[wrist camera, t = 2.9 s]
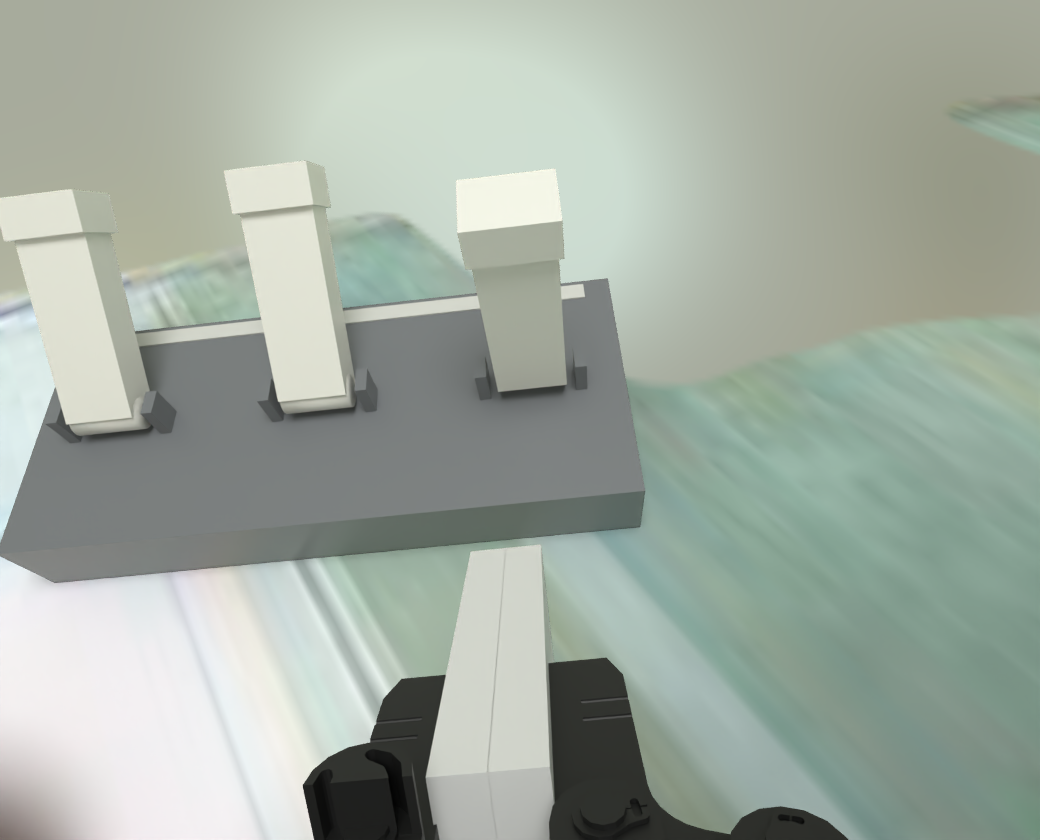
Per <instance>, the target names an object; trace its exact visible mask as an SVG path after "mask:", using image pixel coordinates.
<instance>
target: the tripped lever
mask: <svg viewBox="0 0 1040 840" xmlns="http://www.w3.org/2000/svg"><path fill="white" fill-rule="evenodd" d="M456 194H457V195H456V196H457V197H456V198H457V234H458V238H459V242H460V247H461V252H462V256H463V260H464V265H465V269H466V270H471V269H472V272H473V277H474V282H475V286H476V291H477V296H478V300H479V305H480V310H481V314H482V319H483V323H484V328H485V333H486V337H487V342H488V347H489V351H490V356H491V361H492V365H493V370H494V375H495V379H496V384H497V389H498V392H502V391H512V390H521V389H531V388H540V387H550V386H559V385H567V379H566V363H565V347H564V331H563V315H562V299H561V283H560V269H559V268H560V267H559V259H564V242H563V241H564V240H563V223H562V214H561V207H560V199H559V192H558V185H557V178H556V170H555V169H546V170H538V171H530V172H522V173H514V174H505V175H496V176H488V177H480V178H472V179H463V180H456Z"/></svg>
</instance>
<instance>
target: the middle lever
mask: <svg viewBox="0 0 1040 840" xmlns="http://www.w3.org/2000/svg"><path fill="white" fill-rule="evenodd" d="M224 174H225V180H226V185H227V189H228V194H229V199H230V204H231V208H232V213H233V214H238V215H240V216H241V221H242V226H243V231H244V236H245V241H246V246H247V251H248V256H249V261H250V266H251V271H252V276H253V281H254V286H255V291H256V295H257V300H258V305H259V310H260V315H261V320H262V325H263V330H264V335H265V340H266V345H267V350H268V355H269V360H270V365H271V369H272V374H273V379H274V384H275V389H276V394H277V399H278V402H280V405H281V408H282V410H283V412H284V413H286V414H292V413H301V412H311V411H320V410H330V409H339V408H349V407H354V406H355V403H356V393H355V391H354V390H355V377H354V371H353V365H352V360H351V354H350V348H349V342H348V337H347V331H346V325H345V319H344V313H343V308H342V302H341V296H340V290H339V285H338V279H337V273H336V267H335V261H334V256H333V250H332V244H331V238H330V233H329V227H328V221H327V215H326V209H325V208H330V207H331V204H330V199H329V193H328V186H327V181H326V175H325V169H324V167H322V166H320V165H317V164H314V163H311V162H308V161H298V162H290V163H282V164H273V165H265V166H257V167H249V168H241V169H233V170H224Z"/></svg>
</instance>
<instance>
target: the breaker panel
mask: <svg viewBox="0 0 1040 840" xmlns="http://www.w3.org/2000/svg"><path fill="white" fill-rule="evenodd" d="M561 299H562V315H563V331H564V347H565V363H566V379H567V385H559V386H550V387H540V388H531V389H521V390H512V391H502V392H498V389H497V384H496V379H495V375H494V370H493V365H492V361H491V356H490V351H489V347H488V342H487V337H486V333H485V328H484V323H483V319H482V314H481V310H480V305H479V300H478V296H477V293H474V294H465V295H456V296H447V297H438V298H429V299H420V300H411V301H402V302H393V303H385V304H376V305H367V306H358V307H349V308H343V313H344V319H345V325H346V331H347V337H348V342H349V348H350V354H351V360H352V365H353V371H354V377H355V390H354V391H355V393H356V403H355V406H354V407H349V408H339V409H330V410H320V411H311V412H301V413H292V414H286V413H284V412H283V410H282V408H281V405H280V402H278V399H277V394H276V389H275V384H274V379H273V374H272V369H271V365H270V360H269V355H268V350H267V345H266V340H265V335H264V330H263V325H262V320H261V317H260V318H251V319H242V320H233V321H224V322H215V323H206V324H197V325H188V326H180V327H171V328H162V329H153V330H144V331H135V334H136V338H137V342H138V346H139V350H140V354H141V358H142V362H143V366H144V370H145V374H146V378H147V382H148V386H149V390H150V391H148V392H146V393H145V397H144V401H143V404H142V408H141V412H140V414H141V415H142V416H143V417H144V418H145V419H146V420H147V421H148V422H149V423H150V424H151V425H150V427H149V428H147V429H140V430H131V431H121V432H112V433H102V434H93V435H84V436H79V435H76V434H75V433H74V432H73V431H72V430H71V428H70V426H69V424H66V422H65V419H64V415H63V412H62V408H61V404H60V401H59V397H58V394H57V390H56V387H55V389H54V392H53V395H52V398H51V400H50V403H49V406H48V409H47V412H46V415H45V418H44V420H43V423H42V426H41V429H40V432H39V435H38V438H37V440H36V443H35V446H34V449H33V452H32V455H31V458H30V460H29V463H28V466H27V469H26V472H25V475H24V477H23V480H22V483H21V486H20V489H19V492H18V495H17V497H16V500H15V503H14V506H13V509H12V512H11V515H10V517H9V520H8V523H7V526H6V529H5V532H4V535H3V537H2V540H1V543H0V556H1V557H3V558H5V559H7V560H9V561H11V562H13V563H15V564H17V565H19V566H21V567H23V568H25V569H27V570H30V571H32V572H34V573H36V574H38V575H40V576H42V577H44V578H46V579H48V580H50V581H52V582H54V583H58V582H68V581H79V580H89V579H100V578H110V577H121V576H131V575H142V574H152V573H162V572H173V571H183V570H194V569H204V568H215V567H225V566H236V565H246V564H256V563H267V562H277V561H288V560H298V559H309V558H319V557H330V556H340V555H350V554H361V553H371V552H382V551H392V550H403V549H413V548H424V547H434V546H444V545H455V544H465V543H476V542H486V541H497V540H507V539H518V538H528V537H538V536H549V535H559V534H570V533H580V532H591V531H601V530H612V529H622V528H632V527H640V524H641V517H642V509H643V502H644V495H645V488H644V482H643V476H642V471H641V465H640V459H639V454H638V448H637V442H636V436H635V431H634V425H633V419H632V414H631V408H630V402H629V397H628V391H627V385H626V380H625V374H624V368H623V363H622V357H621V351H620V345H619V340H618V334H617V328H616V323H615V317H614V312H613V306H612V300H611V294H610V289H609V283H608V279H599V280H590V281H581V282H572V283H563V284H561Z"/></svg>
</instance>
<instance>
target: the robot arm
mask: <svg viewBox="0 0 1040 840" xmlns="http://www.w3.org/2000/svg"><path fill="white" fill-rule="evenodd" d="M376 722H377V723H376V725H375V726H374V729H373V732H372V735H371V738H370V743H366V744H361V745H357V746H352V747H349V748H346V749H344V750H342V751H340V752H338V753H336V754H334V755H332V756H330V757H328V758H327V759H326V760H325V761H323V762H322V763H321V764H320V765H319V766H317V767H316V768H315V769H314V770H313V771H312V772H311V774H310V775H309V777H308V778H307V780H306V781H305V783H304V784H303V790H304V794H305V799H306V804H307V808H308V813H309V818H310V822H311V827H312V832H313V836H314V840H848V839H847V838H846V837H845V836H844V835H843V834H842V833H841V832H839V831H838V830H837V829H836V828H835V827H833V826H832V825H831V824H830V823H829V822H828V821H826V820H824V819H821V818H819V817H817V816H815V815H813V814H811V813H808V812H806V811H804V810H798V809H792V808H787V807H781V806H780V807H772V808H763V809H758V810H756V811H754V812H752V813H750V814H748V815H746V816H744V817H742V818H741V819H740V821H739V822H738V824H737V825H736V826H735V828H734V829H733V830H732V832H731V835H730V834H724V833H719V832H714V831H709V830H704V829H701V828H697V827H694V826H690V825H687V824H685V823H683V822H681V821H679V820H677V819H675V818H674V817H672V816H671V815H670V814H668V813H667V812H666V811H665V810H663V809H662V808H661V807H660V806H659V805H658V803H657V802H656V801H655V799H654V798H653V797H652V795H651V792H650V790H649V787H648V785H647V780H646V776H645V771H644V767H643V762H642V758H641V753H640V749H639V744H638V740H637V735H636V731H635V726H634V722H633V718H632V713H631V709H630V704H629V700H628V695H627V691H626V686H625V682H624V677H623V674H622V673H621V672H620V671H619V670H618V669H617V668H616V667H615V666H614V665H613V664H612V663H611V662H610V661H609V660H608V659H607V658H599V659H589V660H578V661H567V662H556V663H554V655H553V646H552V637H551V628H550V620H549V611H548V602H547V593H546V584H545V575H544V567H543V558H542V549H541V545H531V546H521V547H511V548H501V549H491V550H481V551H471V553H470V558H469V563H468V568H467V573H466V578H465V583H464V588H463V593H462V598H461V603H460V608H459V613H458V618H457V623H456V628H455V633H454V638H453V643H452V648H451V653H450V658H449V663H448V668H447V673H446V675H440V676H429V677H418V678H407V679H401V680H400V681H399V682H398V684H397V685H396V686H395V687H394V688H393V689H392V690H391V691H390V692H389V693H388V695H387V696H386V697H385V698H384V699H383V702H382V705H381V708H380V711H379V714H378V717H377V720H376Z"/></svg>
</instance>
